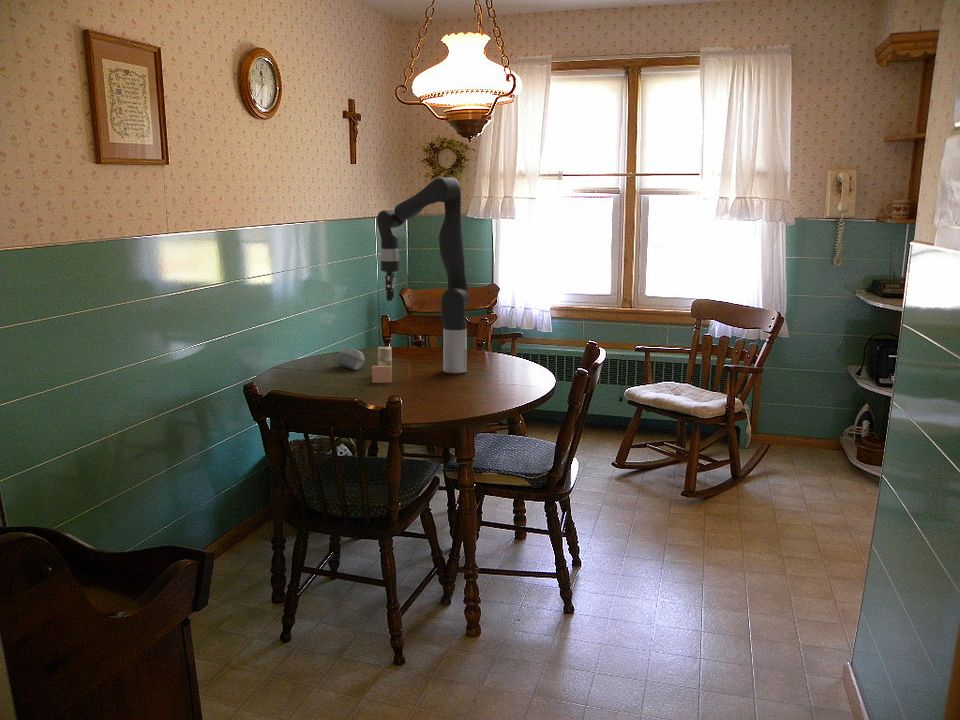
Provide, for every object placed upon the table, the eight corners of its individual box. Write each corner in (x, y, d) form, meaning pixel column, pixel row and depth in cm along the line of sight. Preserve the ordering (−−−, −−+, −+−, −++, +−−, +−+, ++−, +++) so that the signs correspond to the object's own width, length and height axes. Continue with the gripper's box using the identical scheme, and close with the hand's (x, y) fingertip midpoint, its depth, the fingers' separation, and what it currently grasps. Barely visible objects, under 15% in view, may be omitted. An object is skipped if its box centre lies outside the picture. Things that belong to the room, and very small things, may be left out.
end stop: (391, 381, 288) (391, 366, 286) (391, 382, 286) (391, 366, 285) (372, 381, 287) (372, 366, 286) (372, 382, 286) (372, 366, 285)
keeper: (391, 373, 300) (391, 346, 298) (390, 375, 296) (390, 348, 294) (379, 373, 300) (379, 346, 298) (378, 375, 296) (377, 348, 294)
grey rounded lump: (327, 359, 311) (339, 337, 310) (345, 366, 318) (357, 345, 317) (342, 373, 301) (355, 351, 301) (360, 380, 308) (373, 359, 307)
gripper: (397, 261, 309) (398, 301, 313) (400, 258, 323) (400, 297, 327) (379, 260, 309) (379, 301, 313) (382, 258, 323) (382, 297, 327)
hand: (390, 299), depth 320 cm, fingers open, 7 cm apart
